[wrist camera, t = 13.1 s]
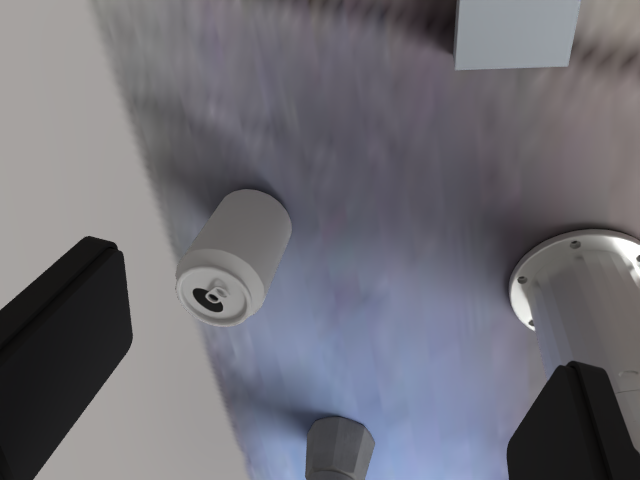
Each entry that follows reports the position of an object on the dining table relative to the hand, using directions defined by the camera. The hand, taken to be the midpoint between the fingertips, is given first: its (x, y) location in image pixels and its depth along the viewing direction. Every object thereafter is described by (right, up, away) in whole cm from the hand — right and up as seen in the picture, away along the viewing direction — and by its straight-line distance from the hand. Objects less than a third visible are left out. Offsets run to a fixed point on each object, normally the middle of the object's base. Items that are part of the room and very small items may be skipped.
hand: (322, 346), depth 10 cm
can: (-6, +4, +37) cm, 38 cm away
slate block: (+13, +19, +23) cm, 32 cm away
